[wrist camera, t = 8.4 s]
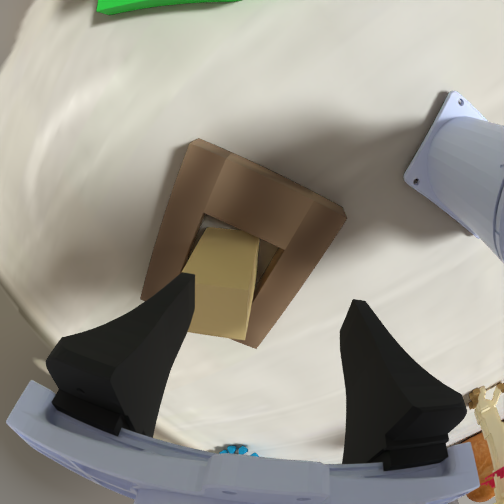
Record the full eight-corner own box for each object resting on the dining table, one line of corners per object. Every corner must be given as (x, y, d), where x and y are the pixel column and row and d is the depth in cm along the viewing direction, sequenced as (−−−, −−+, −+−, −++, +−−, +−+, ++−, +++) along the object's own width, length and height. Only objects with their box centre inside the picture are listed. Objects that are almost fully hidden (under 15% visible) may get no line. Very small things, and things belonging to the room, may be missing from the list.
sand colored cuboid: (260, 232, 22) (248, 289, 16) (256, 276, 24) (245, 340, 18) (207, 227, 22) (176, 280, 16) (207, 271, 24) (183, 331, 18)
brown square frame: (342, 207, 20) (347, 218, 18) (258, 333, 27) (256, 348, 25) (198, 138, 19) (189, 143, 17) (148, 285, 26) (140, 299, 24)
